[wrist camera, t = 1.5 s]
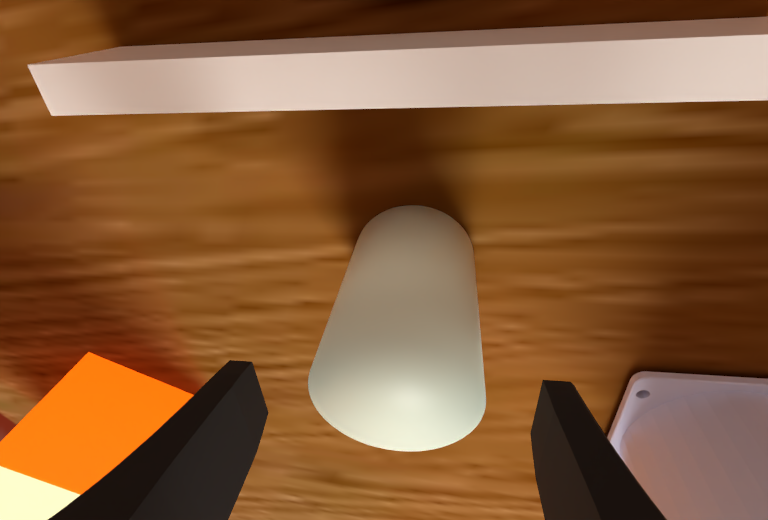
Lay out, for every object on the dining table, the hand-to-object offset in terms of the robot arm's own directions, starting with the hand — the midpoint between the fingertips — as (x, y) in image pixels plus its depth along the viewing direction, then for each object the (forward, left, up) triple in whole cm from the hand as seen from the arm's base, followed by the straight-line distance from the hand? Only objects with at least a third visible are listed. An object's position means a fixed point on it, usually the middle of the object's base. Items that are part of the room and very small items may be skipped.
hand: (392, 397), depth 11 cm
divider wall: (+7, 0, -7) cm, 9 cm away
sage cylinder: (0, 0, -7) cm, 7 cm away
